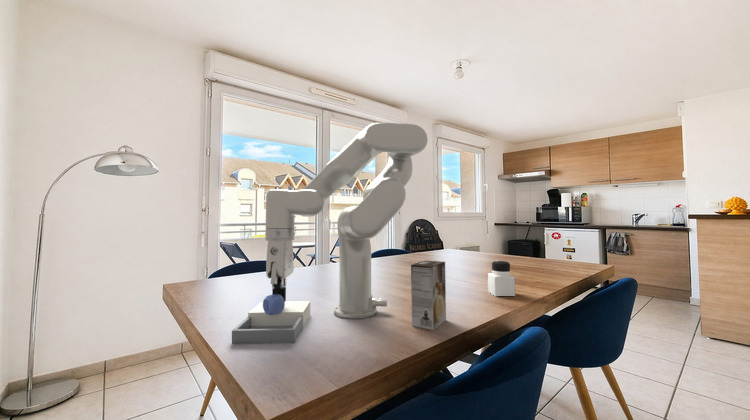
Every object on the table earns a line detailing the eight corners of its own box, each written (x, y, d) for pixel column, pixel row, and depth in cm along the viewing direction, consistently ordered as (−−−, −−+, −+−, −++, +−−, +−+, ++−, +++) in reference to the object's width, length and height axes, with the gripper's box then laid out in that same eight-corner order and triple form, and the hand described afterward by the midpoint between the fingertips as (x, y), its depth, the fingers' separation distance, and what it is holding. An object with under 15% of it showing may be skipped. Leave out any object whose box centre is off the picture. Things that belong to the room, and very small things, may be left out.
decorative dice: (285, 311, 79) (284, 296, 78) (270, 316, 76) (270, 300, 75) (276, 308, 81) (276, 293, 81) (262, 312, 78) (262, 296, 78)
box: (303, 327, 78) (303, 316, 78) (294, 343, 69) (294, 329, 69) (247, 328, 78) (247, 316, 78) (231, 344, 68) (231, 330, 68)
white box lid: (310, 314, 88) (310, 301, 88) (303, 327, 78) (303, 311, 78) (261, 315, 88) (261, 301, 88) (248, 328, 78) (248, 312, 78)
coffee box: (424, 316, 87) (424, 259, 87) (446, 320, 83) (446, 261, 84) (410, 326, 79) (410, 264, 79) (434, 331, 76) (433, 266, 76)
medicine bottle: (515, 297, 106) (515, 262, 107) (495, 297, 107) (494, 262, 107) (507, 292, 114) (506, 259, 114) (487, 292, 114) (487, 259, 114)
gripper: (286, 236, 76) (285, 311, 75) (300, 233, 91) (299, 295, 90) (255, 236, 76) (254, 310, 75) (274, 233, 91) (274, 295, 90)
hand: (279, 302), depth 83 cm, fingers closed
